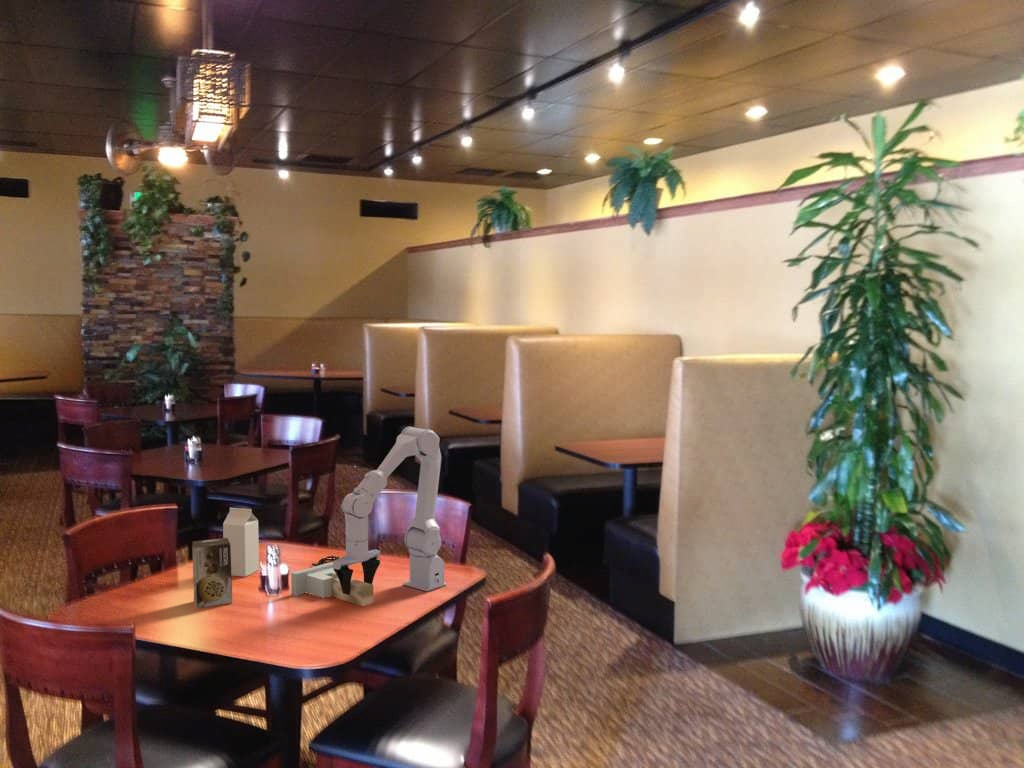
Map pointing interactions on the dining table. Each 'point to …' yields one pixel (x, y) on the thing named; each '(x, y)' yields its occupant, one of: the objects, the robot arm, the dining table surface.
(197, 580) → the grey food box
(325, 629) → the dining table surface
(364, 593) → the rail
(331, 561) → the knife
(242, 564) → the milk carton
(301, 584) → the grey stepped block
